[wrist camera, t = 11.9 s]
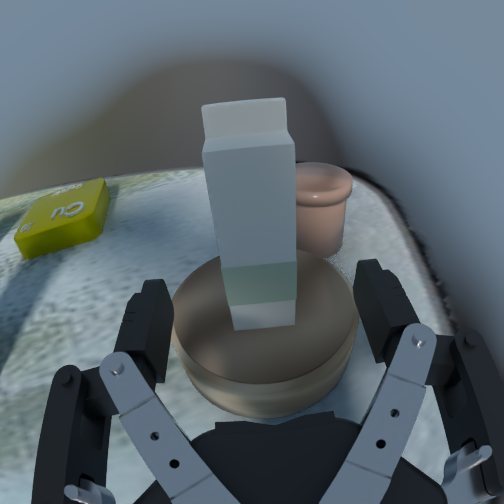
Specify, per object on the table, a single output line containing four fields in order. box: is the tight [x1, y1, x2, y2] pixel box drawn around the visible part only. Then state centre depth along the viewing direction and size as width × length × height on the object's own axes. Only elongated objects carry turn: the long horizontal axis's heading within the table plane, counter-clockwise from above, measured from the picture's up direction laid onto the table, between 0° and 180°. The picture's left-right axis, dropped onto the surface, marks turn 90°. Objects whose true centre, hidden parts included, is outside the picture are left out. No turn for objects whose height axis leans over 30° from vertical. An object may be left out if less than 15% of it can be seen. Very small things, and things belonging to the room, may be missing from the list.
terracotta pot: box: [295, 162, 353, 259], centre depth 33 cm, size 8×8×8 cm
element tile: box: [14, 178, 110, 259], centre depth 44 cm, size 15×15×5 cm
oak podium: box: [171, 249, 359, 419], centre depth 24 cm, size 14×14×5 cm
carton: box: [201, 98, 297, 331], centre depth 18 cm, size 4×5×14 cm
